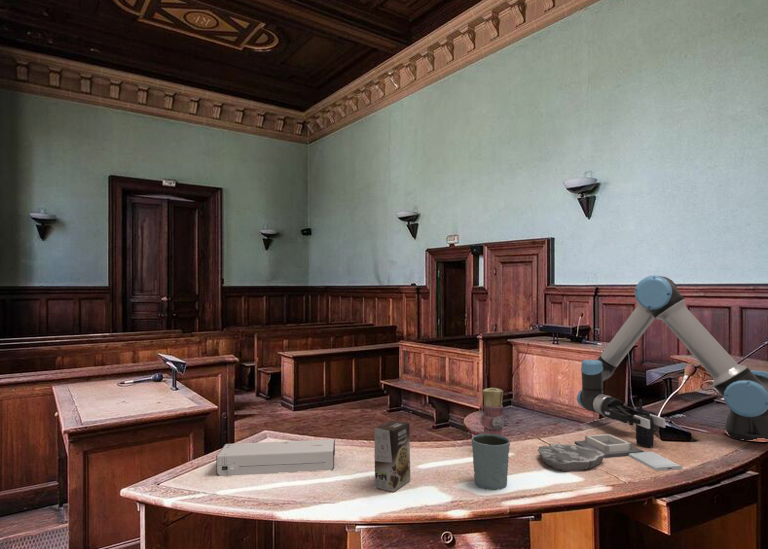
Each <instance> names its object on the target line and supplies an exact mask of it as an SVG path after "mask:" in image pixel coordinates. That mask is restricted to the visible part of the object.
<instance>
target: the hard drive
mask: <svg viewBox="0 0 768 549" xmlns="http://www.w3.org/2000/svg"><path fill="white" fill-rule="evenodd" d="M628 457H629V458H631V459H633V460H635V461H636V462H639V463H640V464H642V465H644V466H646V467H648V468H650V469H651V470H654V471H656V472H664V471H665V472H666V471H675V470H676V471H677V470H678V471H679V470H683V466H682V465H681V464H678V463H676V462H673V461H672V460H670V459H668V458H666V457H663V456H661V455H659V454H657V453H655V452H653V451H644V452H640V453H630V454H629V456H628Z"/></svg>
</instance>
